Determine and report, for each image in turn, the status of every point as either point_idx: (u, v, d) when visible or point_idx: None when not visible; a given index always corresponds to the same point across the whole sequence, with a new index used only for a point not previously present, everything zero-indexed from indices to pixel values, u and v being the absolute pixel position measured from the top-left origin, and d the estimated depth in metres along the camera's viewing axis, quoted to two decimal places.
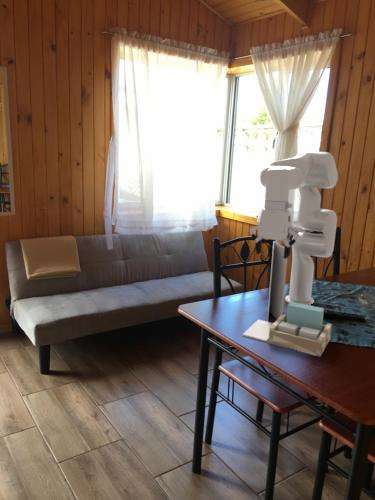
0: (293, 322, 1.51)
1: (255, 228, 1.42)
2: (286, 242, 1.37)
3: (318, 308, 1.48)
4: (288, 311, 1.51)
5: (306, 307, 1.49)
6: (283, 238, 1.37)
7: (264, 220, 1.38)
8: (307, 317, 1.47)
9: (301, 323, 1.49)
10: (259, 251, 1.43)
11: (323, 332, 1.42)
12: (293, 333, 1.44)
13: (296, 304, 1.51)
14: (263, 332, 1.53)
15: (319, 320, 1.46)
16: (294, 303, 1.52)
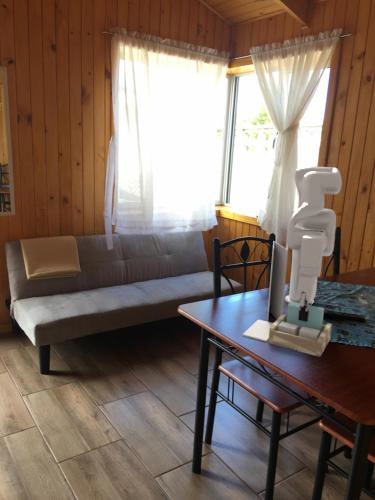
0: (294, 322, 1.50)
1: (304, 300, 1.43)
2: (311, 302, 1.51)
3: (318, 308, 1.48)
4: (288, 311, 1.51)
5: None
6: None
7: (312, 286, 1.43)
8: (308, 317, 1.47)
9: (301, 323, 1.49)
10: None
11: (323, 332, 1.42)
12: (293, 333, 1.44)
13: (296, 304, 1.51)
14: (263, 332, 1.53)
15: (319, 320, 1.46)
16: (294, 303, 1.52)
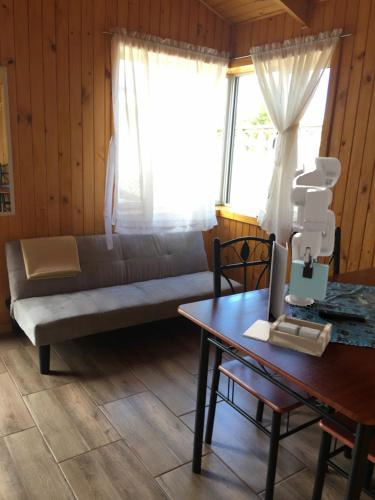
0: (298, 280, 1.47)
1: (309, 256, 1.40)
2: (316, 259, 1.47)
3: (323, 265, 1.44)
4: (292, 269, 1.47)
5: None
6: (319, 252, 1.47)
7: (317, 242, 1.40)
8: (312, 274, 1.44)
9: (306, 280, 1.46)
10: None
11: (323, 332, 1.42)
12: (293, 333, 1.44)
13: (300, 262, 1.47)
14: (263, 332, 1.53)
15: (324, 276, 1.42)
16: (298, 261, 1.48)
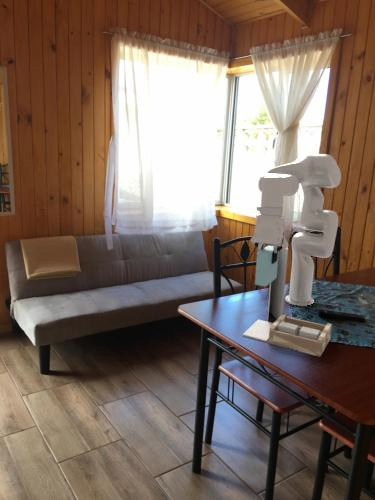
0: (269, 269, 1.46)
1: None
2: None
3: (270, 246, 1.53)
4: (268, 260, 1.44)
5: (269, 249, 1.49)
6: None
7: None
8: None
9: (272, 266, 1.49)
10: None
11: (323, 332, 1.42)
12: (293, 333, 1.44)
13: (265, 251, 1.46)
14: (263, 332, 1.53)
15: None
16: (262, 251, 1.45)
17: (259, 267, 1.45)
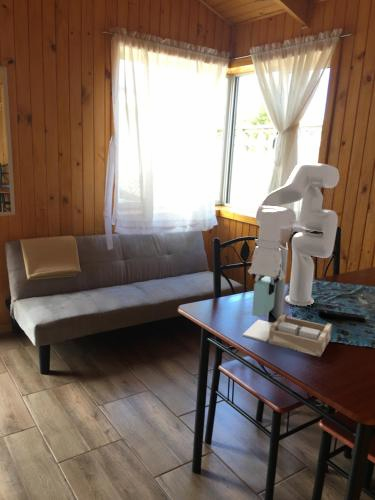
0: (266, 300, 1.49)
1: None
2: None
3: (267, 277, 1.55)
4: (265, 292, 1.46)
5: (267, 280, 1.51)
6: None
7: None
8: None
9: (269, 297, 1.51)
10: None
11: (323, 332, 1.42)
12: (293, 333, 1.44)
13: (262, 282, 1.48)
14: (263, 332, 1.53)
15: None
16: (259, 283, 1.48)
17: (256, 298, 1.48)
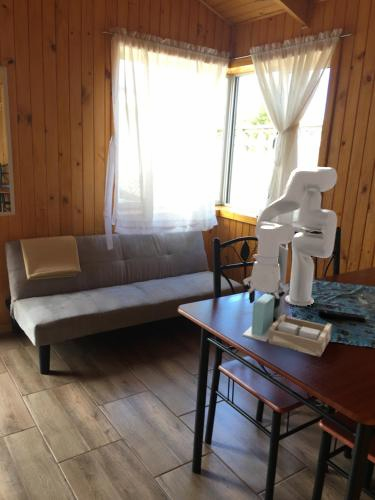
0: (265, 319, 1.51)
1: None
2: None
3: (266, 295, 1.57)
4: (264, 311, 1.48)
5: (265, 299, 1.53)
6: None
7: None
8: (270, 307, 1.54)
9: (268, 315, 1.53)
10: None
11: (323, 332, 1.42)
12: (293, 333, 1.44)
13: (261, 302, 1.50)
14: None
15: (273, 304, 1.58)
16: (258, 302, 1.50)
17: (255, 317, 1.50)
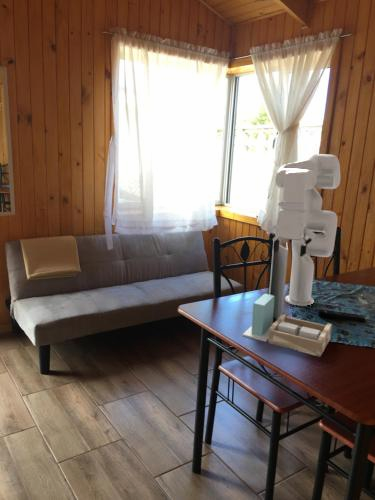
0: (265, 319, 1.51)
1: None
2: None
3: (266, 295, 1.57)
4: (264, 311, 1.48)
5: (265, 299, 1.53)
6: None
7: None
8: (270, 307, 1.54)
9: (268, 315, 1.53)
10: None
11: (323, 332, 1.42)
12: (293, 333, 1.44)
13: (261, 302, 1.50)
14: None
15: (273, 304, 1.58)
16: (258, 302, 1.50)
17: (255, 317, 1.50)
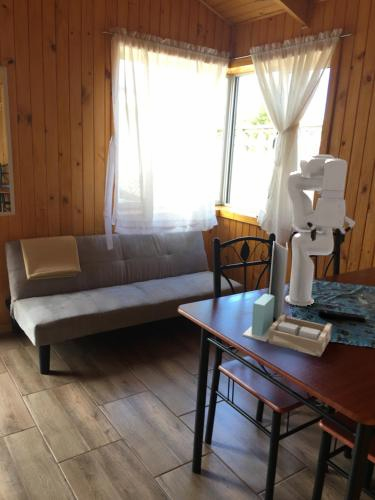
0: (265, 319, 1.51)
1: None
2: None
3: (266, 295, 1.57)
4: (264, 311, 1.48)
5: (265, 299, 1.53)
6: None
7: None
8: (270, 307, 1.54)
9: (268, 315, 1.53)
10: None
11: (323, 332, 1.42)
12: (293, 333, 1.44)
13: (261, 302, 1.50)
14: None
15: (273, 304, 1.58)
16: (258, 302, 1.50)
17: (255, 317, 1.50)
